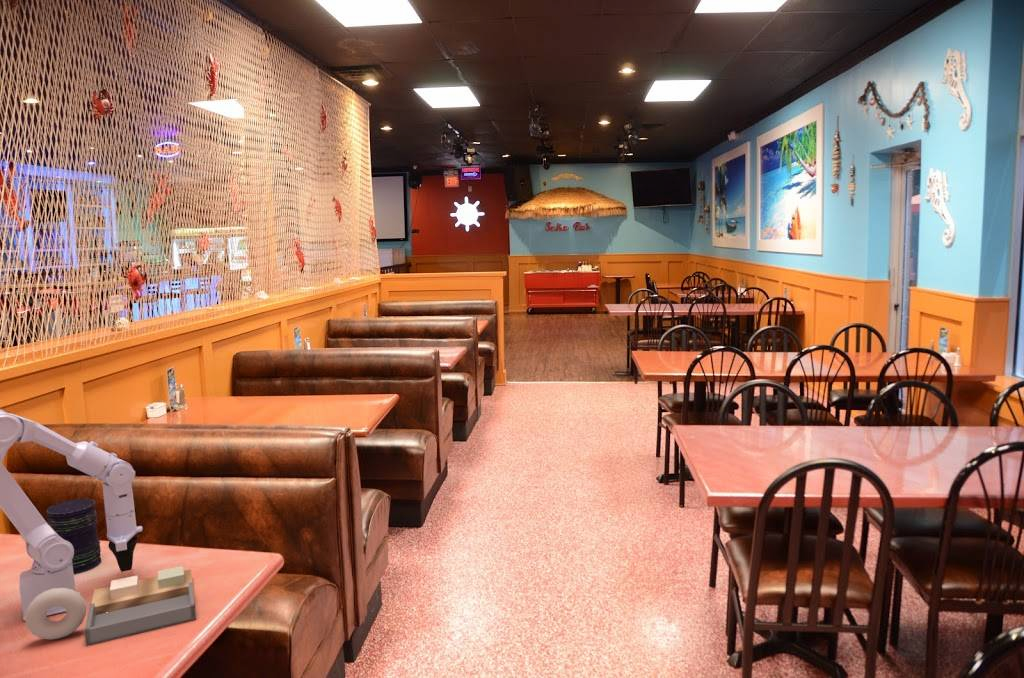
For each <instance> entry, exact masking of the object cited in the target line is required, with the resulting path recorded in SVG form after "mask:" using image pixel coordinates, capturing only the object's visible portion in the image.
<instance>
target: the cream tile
mask: <svg viewBox="0 0 1024 678" xmlns="http://www.w3.org/2000/svg"><path fill="white" fill-rule="evenodd" d="M138 580H139V577H138V575H132V576H127V577H123V578H117V579H114V580H113V579H112V580H111V581H110V596H111V599H115V598H120V597H124V596H129V595H134V594H138V585H139V583H138Z"/></svg>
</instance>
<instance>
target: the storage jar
mask: <svg viewBox="0 0 1024 678" xmlns="http://www.w3.org/2000/svg"><path fill="white" fill-rule="evenodd" d="M95 505H96V503H95V500H94V499H91V498H78V499H77V498H76V499H70V500H66V501H62V502H58V503H55V504H53V505H51V506H49V507H48V508H47V509H46V515H47V521H46V522H47V524H48V525H49V526H50V527H51V528H52V529H53V530H54V531H55V532H56V533H57V534H58V535H59V536H60V537H61V538H63V539H64V540H66V541H68V542H70V543H71V544H72V546H73V548H74V556H73V558H72V565H73V573H74V575H78V574H82V573H86V572H88V571H91V570H93V569H95V568H96V567H98V566H100V564H101V563H102V558H101V541H100V538H98V530H97V529H98V528H97V525H98V518H97V517H98V515H97V511H96V507H95Z"/></svg>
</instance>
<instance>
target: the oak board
mask: <svg viewBox="0 0 1024 678" xmlns="http://www.w3.org/2000/svg"><path fill="white" fill-rule="evenodd" d="M184 581H185V583H184V584H180V585H175V586H170V587H166V588H161V589H159V584H158V575H157V576H151V577H148V578H142V579H138V583H139V585H138V594H134V595H129V596H124V597H120V598H115V599H111V596H110V586H111V585H110V586H105V587H100V588H96V589H95V588H94V590H93V595H92V598H91V604H93V603H95V612H96V615H99V614H103V613H106V612H112V611H117V610H121V609H126V608H130V607H135V606H139V605H143V604H148V603H152V602H157V601H161V600H166V599H170V598H175V597H179V596H184V595H188V594H189V586H188V583H189V582H192V583H193V576H192V569H186V570H184Z"/></svg>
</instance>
